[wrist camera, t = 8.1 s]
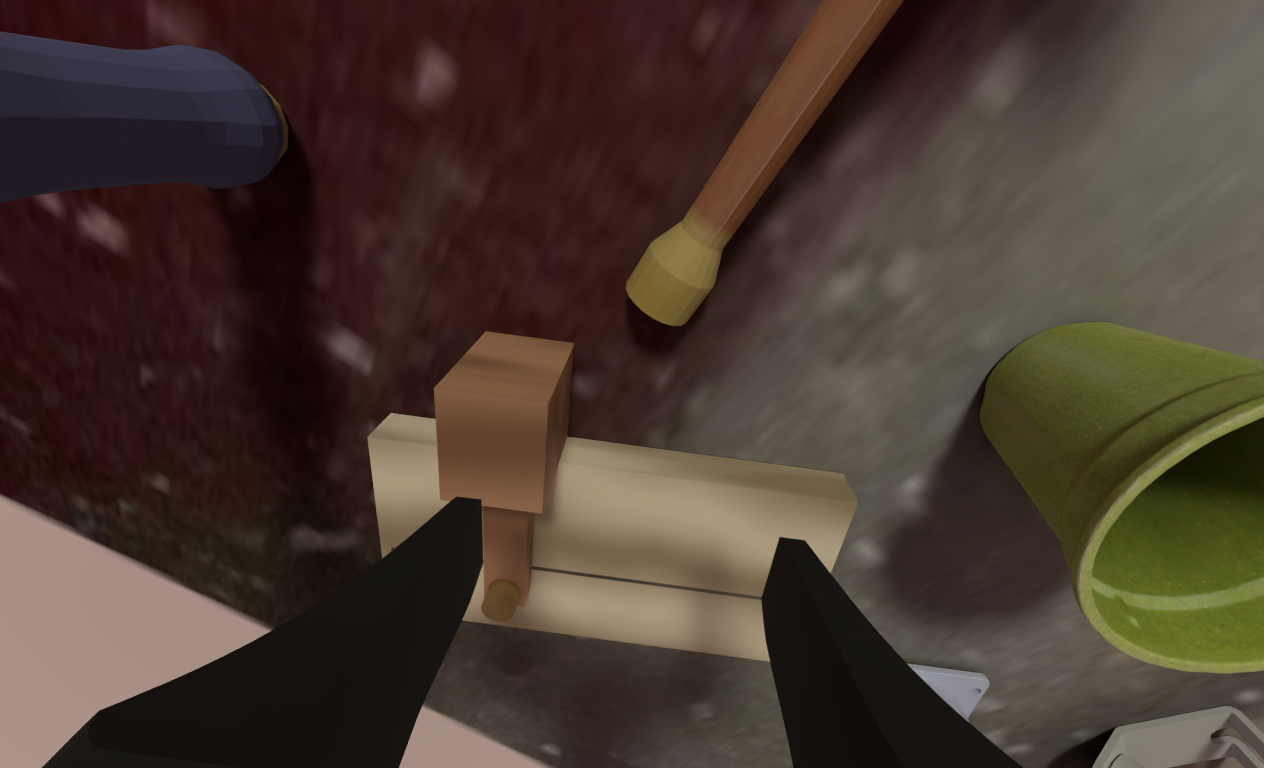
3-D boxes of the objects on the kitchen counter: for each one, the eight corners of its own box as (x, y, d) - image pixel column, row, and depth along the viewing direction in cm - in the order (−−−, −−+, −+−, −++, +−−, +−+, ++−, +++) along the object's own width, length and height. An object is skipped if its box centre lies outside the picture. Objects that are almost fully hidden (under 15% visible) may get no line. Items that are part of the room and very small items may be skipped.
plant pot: (1025, 524, 23) (1204, 718, 16) (881, 407, 21) (1006, 565, 14) (1243, 378, 20) (1616, 535, 12) (1097, 220, 18) (1435, 288, 10)
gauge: (558, 554, 26) (534, 648, 21) (487, 545, 26) (447, 636, 21) (574, 343, 21) (548, 403, 16) (485, 331, 21) (434, 388, 16)
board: (786, 629, 27) (795, 665, 25) (407, 578, 27) (388, 611, 25) (843, 473, 23) (858, 503, 21) (390, 413, 23) (366, 437, 21)
